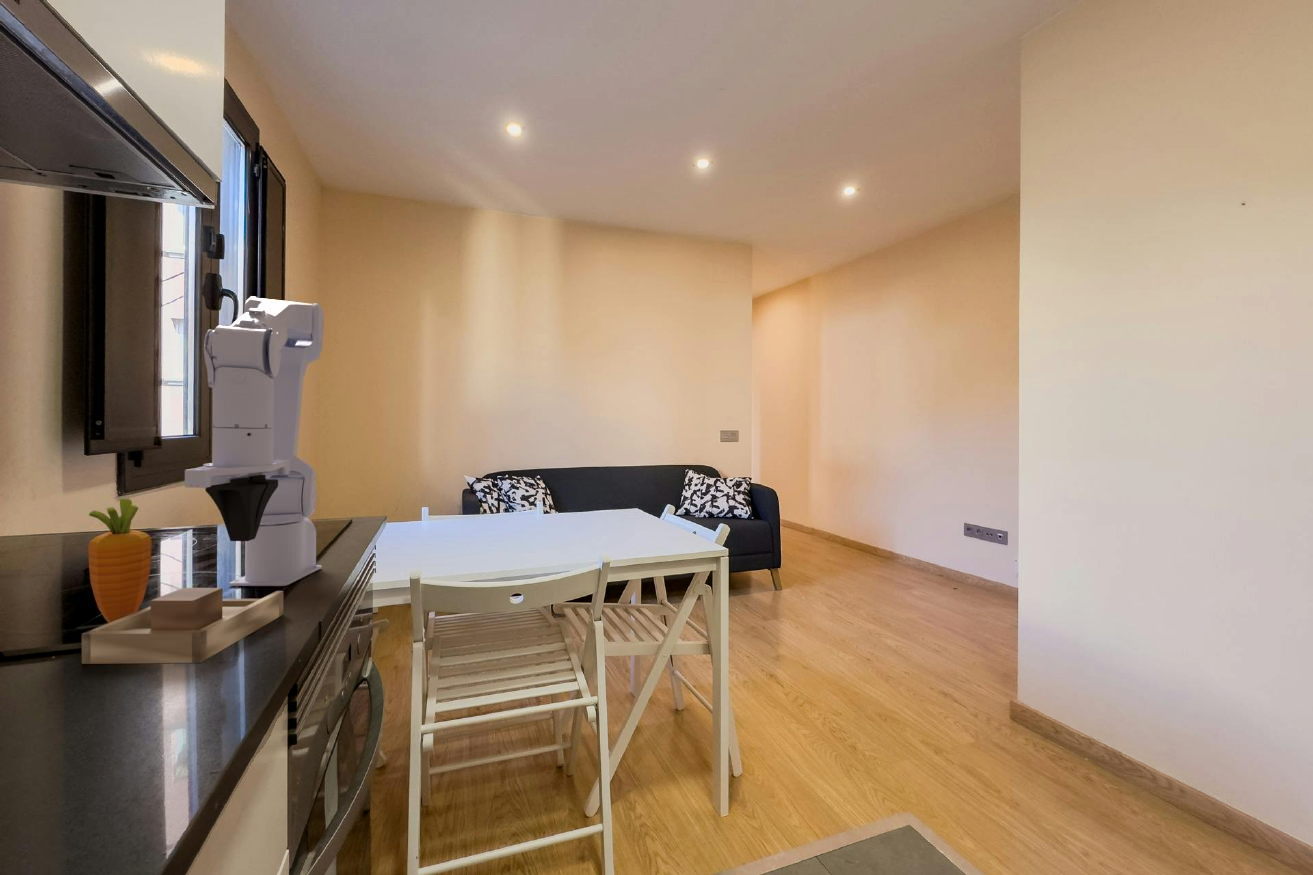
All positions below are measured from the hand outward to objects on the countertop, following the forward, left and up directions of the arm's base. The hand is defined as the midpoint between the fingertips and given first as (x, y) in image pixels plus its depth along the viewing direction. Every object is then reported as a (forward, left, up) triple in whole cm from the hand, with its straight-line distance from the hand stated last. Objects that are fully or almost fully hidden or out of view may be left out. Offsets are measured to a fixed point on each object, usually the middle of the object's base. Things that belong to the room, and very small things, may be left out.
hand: (242, 539), depth 62 cm
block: (+8, 0, -8) cm, 11 cm away
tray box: (+4, -2, -10) cm, 11 cm away
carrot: (+3, -11, -10) cm, 15 cm away
